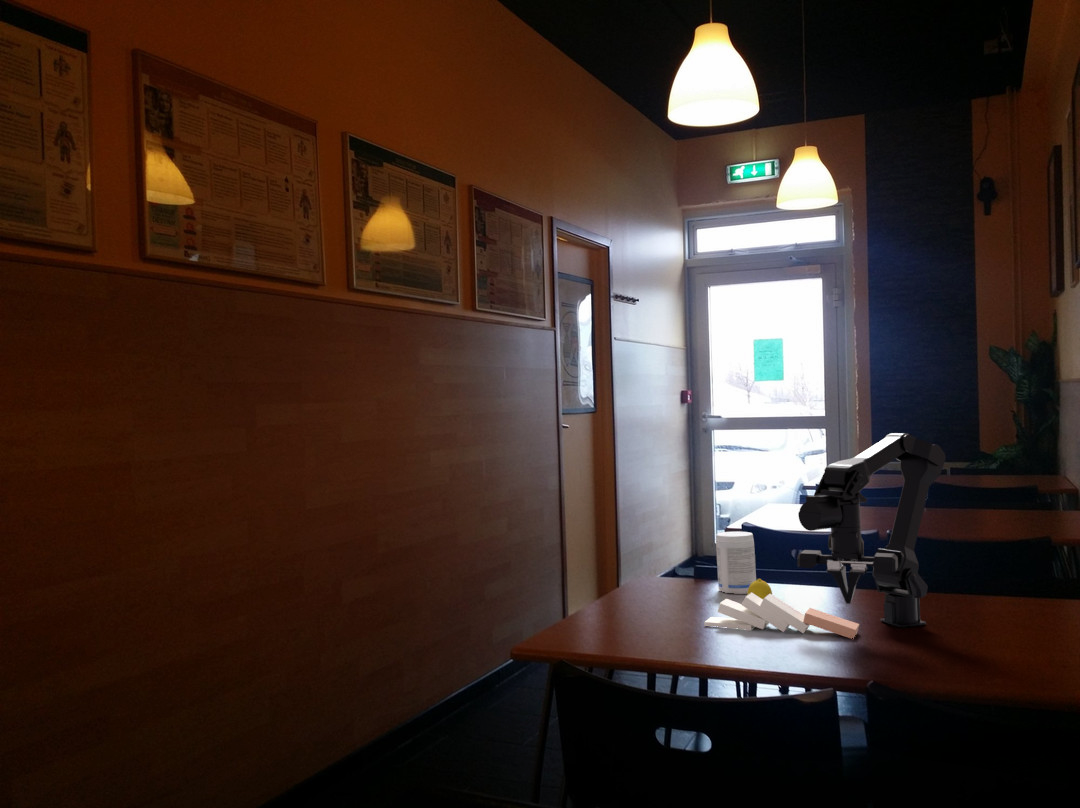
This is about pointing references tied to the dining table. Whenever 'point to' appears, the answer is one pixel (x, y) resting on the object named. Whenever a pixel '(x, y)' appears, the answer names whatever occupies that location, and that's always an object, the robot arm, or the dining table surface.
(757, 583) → the lemon
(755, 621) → the tile
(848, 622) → the tile
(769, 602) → the tile
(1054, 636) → the dining table surface
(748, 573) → the supplement tub
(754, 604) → the tile
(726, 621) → the tile end
